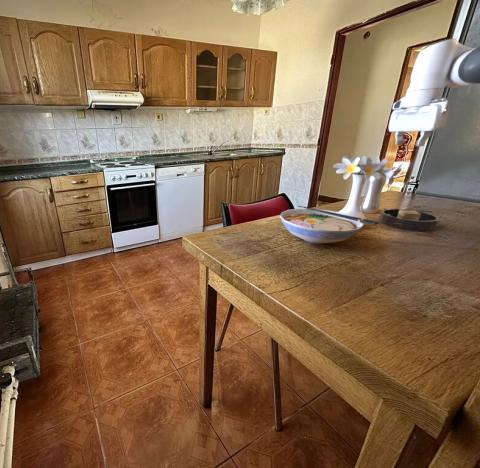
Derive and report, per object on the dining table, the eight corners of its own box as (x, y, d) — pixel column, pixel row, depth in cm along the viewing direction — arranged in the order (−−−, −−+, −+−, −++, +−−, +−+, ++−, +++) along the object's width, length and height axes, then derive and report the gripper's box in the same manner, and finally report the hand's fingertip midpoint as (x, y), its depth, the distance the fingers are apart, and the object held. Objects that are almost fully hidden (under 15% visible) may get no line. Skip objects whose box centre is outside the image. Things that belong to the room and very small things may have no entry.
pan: (422, 220, 97) (425, 210, 96) (445, 234, 84) (450, 223, 83) (372, 217, 103) (375, 207, 102) (387, 229, 90) (390, 219, 88)
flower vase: (380, 239, 82) (404, 158, 73) (317, 227, 94) (330, 156, 85) (384, 228, 91) (406, 155, 82) (325, 218, 103) (339, 153, 94)
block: (410, 222, 94) (414, 210, 93) (416, 226, 91) (420, 214, 89) (395, 221, 96) (399, 209, 94) (400, 225, 92) (404, 213, 91)
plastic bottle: (362, 214, 106) (375, 165, 99) (355, 210, 112) (366, 163, 105) (380, 215, 105) (394, 165, 97) (372, 211, 111) (385, 163, 104)
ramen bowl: (260, 234, 89) (262, 211, 86) (303, 223, 99) (307, 202, 96) (331, 263, 68) (337, 234, 65) (377, 245, 78) (385, 220, 75)
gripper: (462, 96, 73) (445, 146, 78) (409, 103, 92) (398, 144, 97) (437, 97, 74) (422, 147, 79) (389, 104, 93) (379, 144, 98)
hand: (408, 145), depth 88 cm, fingers open, 8 cm apart
